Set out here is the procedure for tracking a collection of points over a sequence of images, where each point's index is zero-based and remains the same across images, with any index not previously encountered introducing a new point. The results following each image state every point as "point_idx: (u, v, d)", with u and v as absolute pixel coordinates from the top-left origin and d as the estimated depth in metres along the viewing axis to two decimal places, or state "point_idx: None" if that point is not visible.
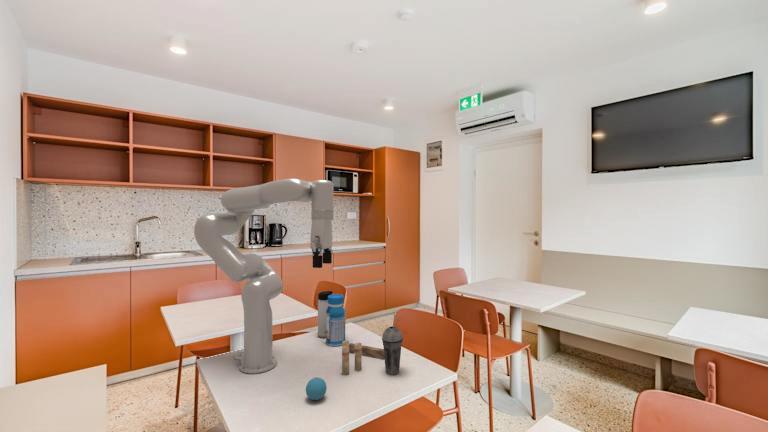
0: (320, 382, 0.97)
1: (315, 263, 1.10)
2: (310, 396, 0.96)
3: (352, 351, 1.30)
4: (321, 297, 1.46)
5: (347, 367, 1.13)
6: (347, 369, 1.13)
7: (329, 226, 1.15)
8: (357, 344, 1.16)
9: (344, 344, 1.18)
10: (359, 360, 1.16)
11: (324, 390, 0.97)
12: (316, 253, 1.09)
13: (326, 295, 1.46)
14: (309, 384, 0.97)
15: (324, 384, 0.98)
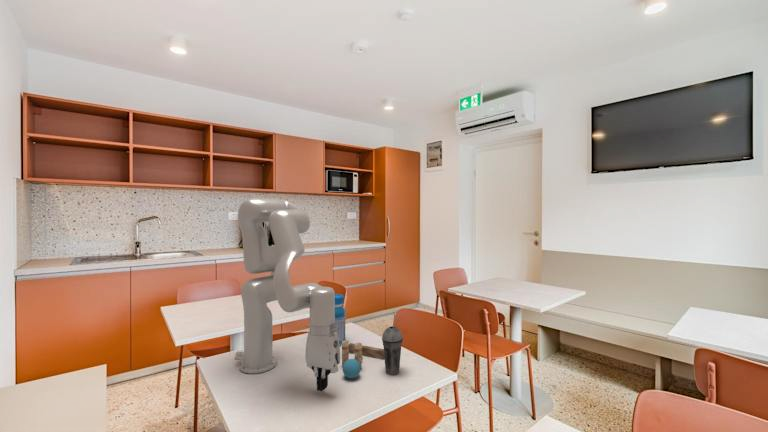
0: (351, 374, 1.08)
1: None
2: None
3: (352, 351, 1.30)
4: None
5: None
6: None
7: (316, 342, 0.99)
8: (357, 344, 1.16)
9: (344, 344, 1.18)
10: (359, 360, 1.16)
11: (357, 374, 1.10)
12: None
13: None
14: (343, 372, 1.10)
15: (355, 372, 1.09)
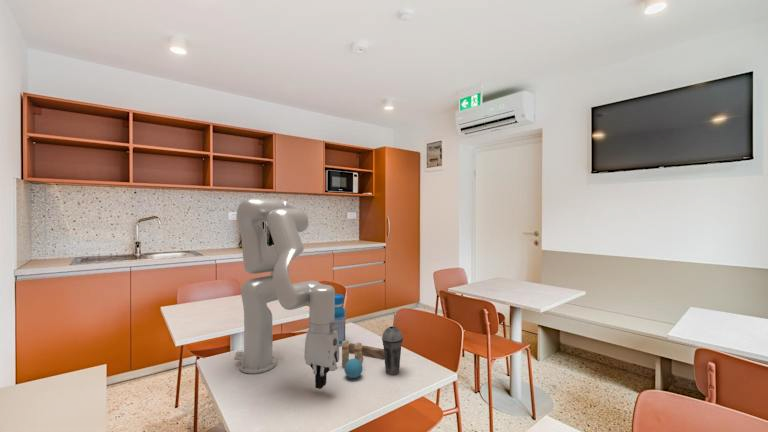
0: (352, 373, 1.08)
1: None
2: None
3: (352, 351, 1.30)
4: None
5: None
6: None
7: (316, 340, 0.99)
8: (357, 344, 1.16)
9: (344, 344, 1.18)
10: (359, 360, 1.16)
11: (358, 375, 1.10)
12: None
13: None
14: (345, 370, 1.10)
15: (357, 372, 1.09)
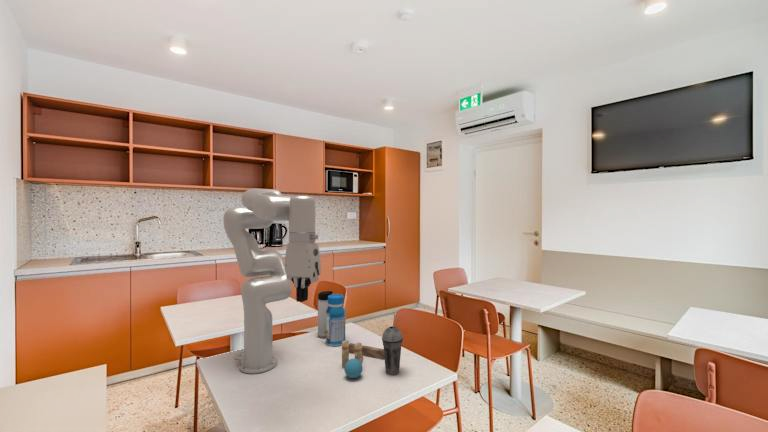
0: (352, 373, 1.08)
1: None
2: None
3: (352, 351, 1.30)
4: (321, 297, 1.46)
5: None
6: None
7: (296, 250, 0.95)
8: (357, 344, 1.16)
9: (344, 344, 1.18)
10: (359, 360, 1.16)
11: (358, 375, 1.10)
12: None
13: (326, 295, 1.46)
14: (345, 370, 1.10)
15: (357, 372, 1.09)
